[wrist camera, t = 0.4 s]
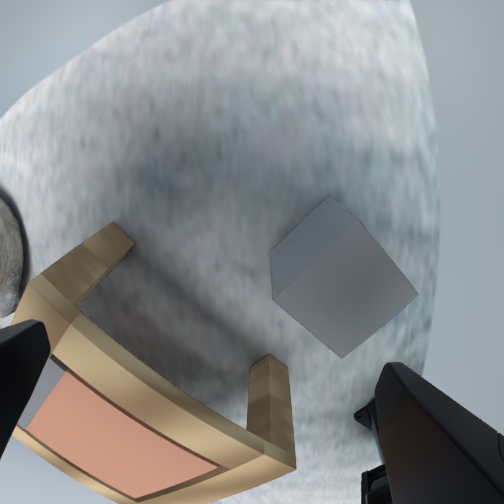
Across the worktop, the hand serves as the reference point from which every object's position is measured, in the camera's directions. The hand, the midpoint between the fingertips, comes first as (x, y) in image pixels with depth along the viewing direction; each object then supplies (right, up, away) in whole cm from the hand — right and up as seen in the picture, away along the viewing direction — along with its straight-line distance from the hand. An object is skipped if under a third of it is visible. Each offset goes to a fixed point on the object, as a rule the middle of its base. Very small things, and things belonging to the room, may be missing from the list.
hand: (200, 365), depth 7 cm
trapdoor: (-8, -9, +8) cm, 14 cm away
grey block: (+6, +3, +12) cm, 14 cm away
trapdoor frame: (-7, -6, +16) cm, 18 cm away
